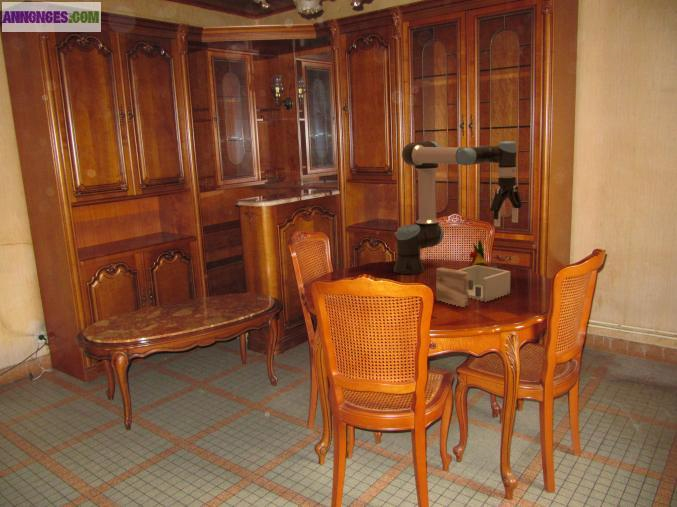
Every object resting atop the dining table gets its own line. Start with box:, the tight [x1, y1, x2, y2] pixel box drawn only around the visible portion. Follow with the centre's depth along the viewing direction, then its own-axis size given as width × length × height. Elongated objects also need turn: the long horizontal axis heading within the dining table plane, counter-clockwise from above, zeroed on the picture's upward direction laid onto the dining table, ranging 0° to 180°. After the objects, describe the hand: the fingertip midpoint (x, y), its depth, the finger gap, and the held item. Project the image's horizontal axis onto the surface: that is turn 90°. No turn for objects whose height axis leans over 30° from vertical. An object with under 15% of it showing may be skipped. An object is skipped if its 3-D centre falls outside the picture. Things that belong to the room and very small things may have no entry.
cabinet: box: [457, 265, 511, 303], centre depth 250 cm, size 17×18×10 cm
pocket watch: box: [490, 260, 499, 269], centre depth 268 cm, size 8×8×10 cm
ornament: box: [468, 239, 489, 267], centre depth 292 cm, size 21×8×15 cm, turn 0°
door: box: [435, 267, 469, 308], centre depth 238 cm, size 5×14×14 cm, turn 39°
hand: (506, 224), depth 259 cm, fingers open, 13 cm apart
